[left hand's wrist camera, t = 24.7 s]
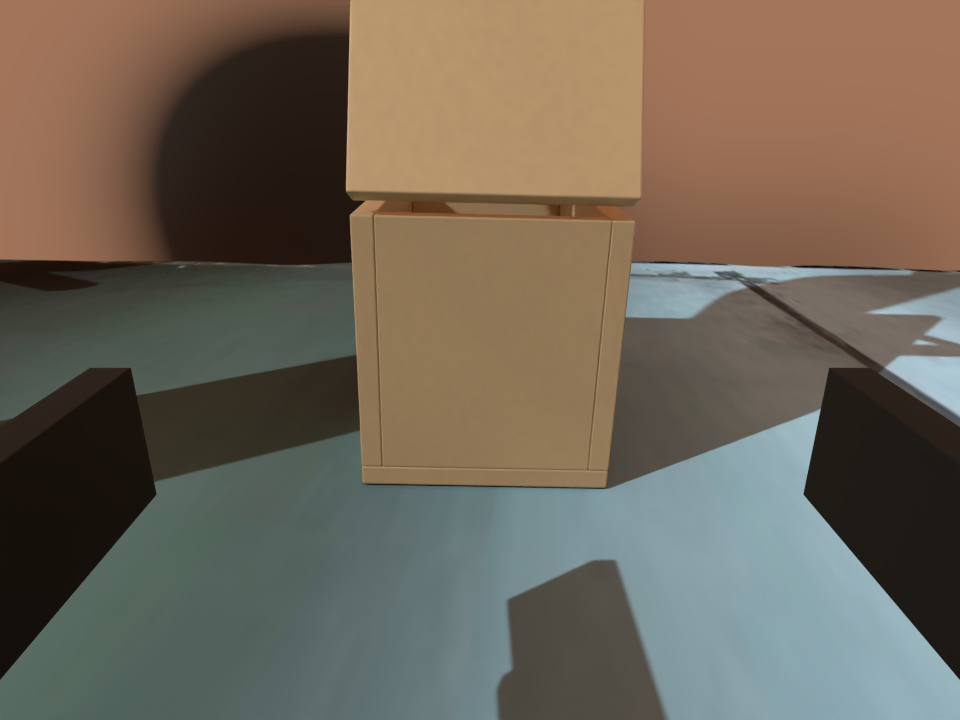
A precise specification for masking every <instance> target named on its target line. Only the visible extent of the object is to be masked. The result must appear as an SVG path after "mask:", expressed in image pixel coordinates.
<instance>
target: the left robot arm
mask: <svg viewBox="0 0 960 720" xmlns="http://www.w3.org/2000/svg"><path fill="white" fill-rule="evenodd" d="M155 496H156V490H155V485H154V480H153V475H152V470H151V465H150V460H149V455H148V450H147V445H146V440H145V436H144V431H143V426H142V421H141V416H140V411H139V406H138V401H137V396H136V391H135V386H134V382H133V377H132V372H131V368H89V369H88V370H86V371H85V372H83V373H82V374H80V375H79V376H77V377H75V378H74V379H72V380H71V381H69V382H68V383H66V384H65V385H63V386H62V387H60V388H59V389H57V390H56V391H54V392H53V393H51V394H50V395H48V396H47V397H45V398H44V399H42V400H41V401H39V402H38V403H36V404H35V405H33V406H31V407H30V408H28V409H27V410H25V411H24V412H22V413H21V414H19V415H18V416H16V417H15V418H13V419H12V420H10V421H9V422H7V423H6V424H4V425H3V426H1V427H0V679H1V678H2V677H3V676H4V675H5V673H6V672H7V671H8V670H9V669H10V667H11V666H12V665H13V664H14V663H15V662H16V660H17V659H18V658H19V657H20V656H21V654H22V653H23V652H24V651H25V650H26V648H27V647H28V646H29V645H30V644H31V643H32V641H33V640H34V639H35V638H36V637H37V635H38V634H39V633H40V632H41V631H42V630H43V628H44V627H45V626H46V625H47V624H48V622H49V621H50V620H51V619H52V618H53V616H54V615H55V614H56V613H57V612H58V611H59V609H60V608H61V607H62V606H63V605H64V603H65V602H66V601H67V600H68V599H69V598H70V596H71V595H72V594H73V593H74V592H75V590H76V589H77V588H78V587H79V586H80V584H81V583H82V582H83V581H84V580H85V579H86V577H87V576H88V575H89V574H90V573H91V571H92V570H93V569H94V568H95V567H96V566H97V564H98V563H99V562H100V561H101V560H102V558H103V557H104V556H105V555H106V554H107V552H108V551H109V550H110V549H111V548H112V547H113V545H114V544H115V543H116V542H117V541H118V539H119V538H120V537H121V536H122V535H123V534H124V532H125V531H126V530H127V529H128V528H129V526H130V525H131V524H132V523H133V522H134V520H135V519H136V518H137V517H138V516H139V515H140V513H141V512H142V511H143V510H144V509H145V507H146V506H147V505H148V504H149V503H150V502H151V500H152V499H153V498H154V497H155ZM804 496H805V497H806V498H807V499H808V500H809V502H810V503H811V504H812V505H813V506H814V507H815V509H816V510H817V511H818V512H819V513H820V515H821V516H822V517H823V518H824V519H825V520H826V522H827V523H828V524H829V525H830V526H831V528H832V529H833V530H834V531H835V532H836V534H837V535H838V536H839V537H840V538H841V539H842V541H843V542H844V543H845V544H846V545H847V547H848V548H849V549H850V550H851V551H852V552H853V554H854V555H855V556H856V557H857V558H858V560H859V561H860V562H861V563H862V564H863V566H864V567H865V568H866V569H867V570H868V571H869V573H870V574H871V575H872V576H873V577H874V579H875V580H876V581H877V582H878V583H879V584H880V586H881V587H882V588H883V589H884V590H885V592H886V593H887V594H888V595H889V596H890V598H891V599H892V600H893V601H894V602H895V603H896V605H897V606H898V607H899V608H900V609H901V611H902V612H903V613H904V614H905V615H906V616H907V618H908V619H909V620H910V621H911V622H912V624H913V625H914V626H915V627H916V628H917V630H918V631H919V632H920V633H921V634H922V635H923V637H924V638H925V639H926V640H927V641H928V643H929V644H930V645H931V646H932V647H933V648H934V650H935V651H936V652H937V653H938V654H939V656H940V657H941V658H942V659H943V660H944V662H945V663H946V664H947V665H948V666H949V667H950V669H951V670H952V671H953V672H954V673H955V675H956V676H957V677H958V678H959V679H960V427H959V426H957V425H956V424H954V423H953V422H951V421H950V420H948V419H947V418H945V417H944V416H942V415H941V414H939V413H938V412H936V411H935V410H933V409H932V408H930V407H929V406H927V405H925V404H924V403H922V402H921V401H919V400H918V399H916V398H915V397H913V396H912V395H910V394H909V393H907V392H906V391H904V390H903V389H901V388H900V387H898V386H897V385H895V384H894V383H892V382H891V381H889V380H888V379H886V378H885V377H883V376H881V375H880V374H878V373H877V372H875V371H874V370H872V369H871V368H829V372H828V377H827V381H826V386H825V391H824V396H823V401H822V406H821V411H820V416H819V421H818V426H817V431H816V436H815V440H814V445H813V450H812V455H811V460H810V465H809V470H808V475H807V480H806V485H805V490H804Z"/></svg>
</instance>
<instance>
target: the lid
mask: <svg viewBox="0 0 960 720" xmlns="http://www.w3.org/2000/svg"><path fill="white" fill-rule="evenodd" d="M644 50H645V0H351V1H350V43H349V87H348V128H347V171H346V191H347V193H348V194H349V196H350V197H351V199H352V200H370V201H411V202H453V203H495V204H536V205H578V206H620V207H633V206H635V205H636V204H637V203H638V202H639V201H640V200H641V198H642V170H643V111H644Z"/></svg>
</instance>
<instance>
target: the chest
mask: <svg viewBox="0 0 960 720" xmlns="http://www.w3.org/2000/svg"><path fill="white" fill-rule="evenodd" d="M635 226H636V222H635V221H634V220H633V219H631V218H630V217H629V216H627V215H626V214H625V213H623V212H622V211H621V210H620V209H618V208H617V207H616V206H578V205H536V204H495V203H453V202H411V201H370V200H366V201H365V202H364V203H363V204H362V205H361V206H360V207H359V208H358V209H356V210H355V211H354V212H353V213H352V214H351V215H350V229H351V250H352V270H353V291H354V311H355V332H356V353H357V373H358V394H359V414H360V435H361V456H362V465H363V466H362V476H363V483H365V484H419V485H474V486H529V487H585V488H606V486H607V477H608V468H609V459H610V450H611V441H612V432H613V423H614V415H615V406H616V397H617V388H618V379H619V370H620V361H621V352H622V343H623V334H624V325H625V316H626V307H627V298H628V289H629V280H630V271H631V262H632V253H633V244H634V235H635Z"/></svg>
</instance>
